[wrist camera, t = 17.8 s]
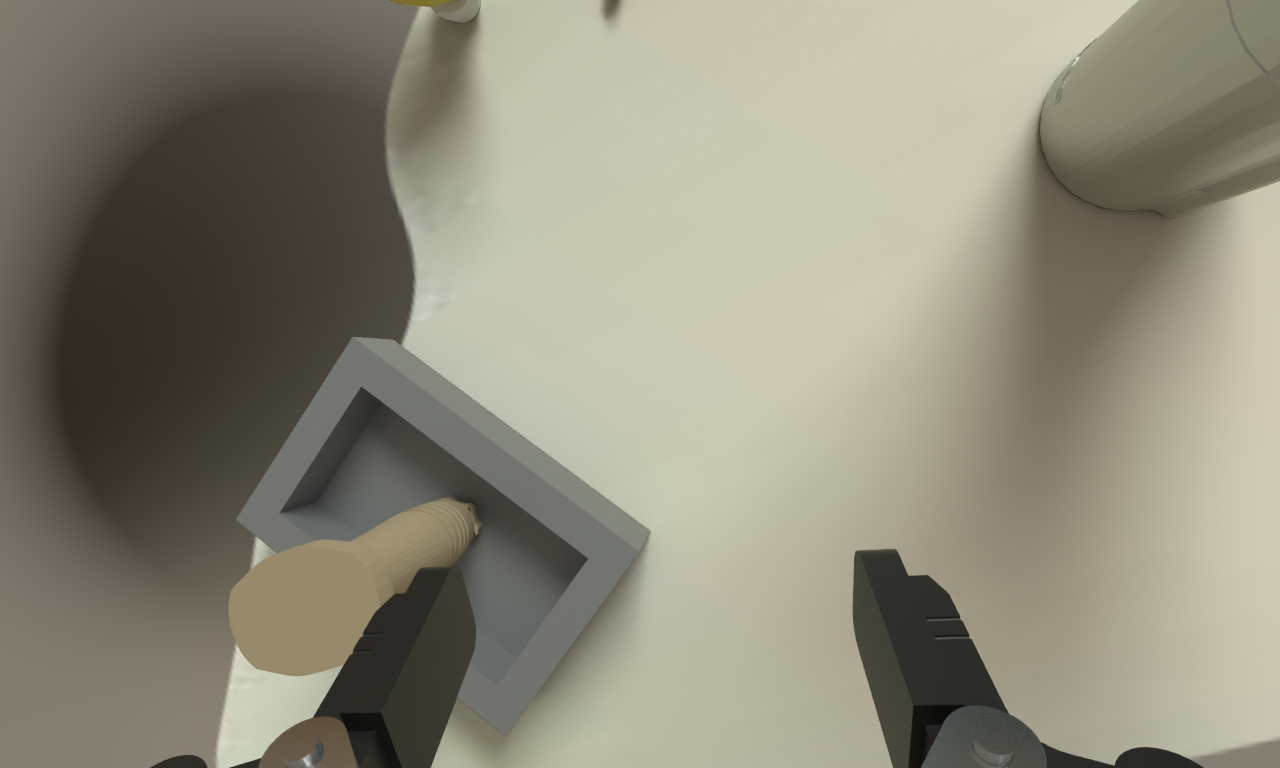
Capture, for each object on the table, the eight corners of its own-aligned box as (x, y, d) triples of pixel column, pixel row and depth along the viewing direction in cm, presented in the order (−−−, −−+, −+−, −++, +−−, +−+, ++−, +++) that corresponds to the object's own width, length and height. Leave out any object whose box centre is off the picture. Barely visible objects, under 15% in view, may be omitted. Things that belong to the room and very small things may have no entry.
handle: (519, 544, 40) (395, 650, 26) (423, 573, 41) (250, 691, 27) (494, 468, 41) (357, 529, 26) (399, 498, 41) (214, 574, 27)
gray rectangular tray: (650, 531, 40) (639, 551, 36) (530, 697, 42) (505, 736, 37) (393, 340, 42) (352, 337, 38) (287, 504, 44) (235, 519, 39)
